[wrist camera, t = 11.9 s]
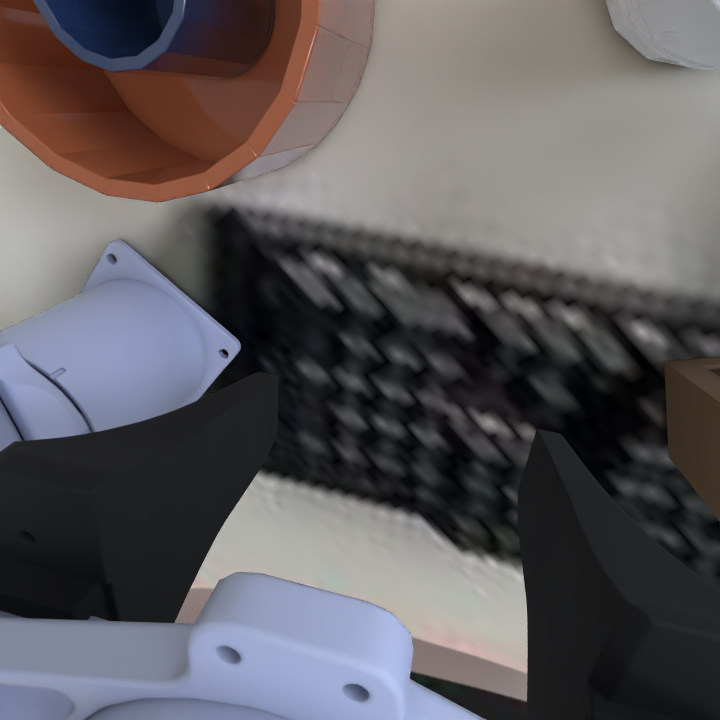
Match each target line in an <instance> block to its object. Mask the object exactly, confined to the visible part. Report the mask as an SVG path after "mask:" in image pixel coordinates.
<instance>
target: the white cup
mask: <svg viewBox="0 0 720 720" xmlns="http://www.w3.org/2000/svg"><path fill="white" fill-rule="evenodd" d="M605 1H606V4H607V7H608V10H609V14H610V17H611V20H612V24H613V27H614V29H615V30H616V31H617V32H618V33H619V34H620V35H621V36H622V37H623V38H624V39H625V40H626V41H628V42H629V43H630V44H631V45H632V46H633V47H634V48H635V49H636V50H637V51H638V52H640V53H641V54H642V55H643V56H644V57H645V58H646V59H649V60H654V61H659V62H665V63H670V64H675V65H680V66H686V67H691V68H696V69H705V70H720V0H605Z"/></svg>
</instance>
